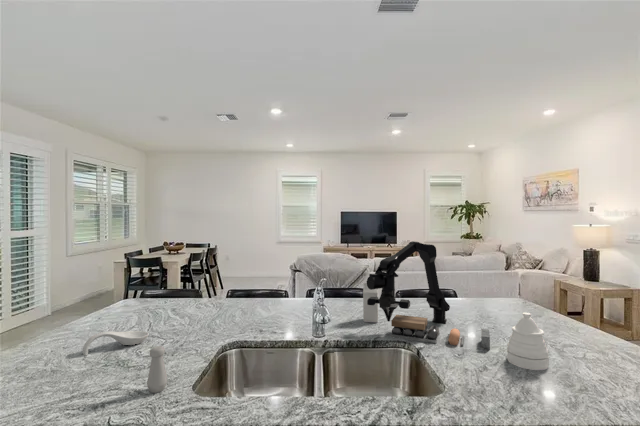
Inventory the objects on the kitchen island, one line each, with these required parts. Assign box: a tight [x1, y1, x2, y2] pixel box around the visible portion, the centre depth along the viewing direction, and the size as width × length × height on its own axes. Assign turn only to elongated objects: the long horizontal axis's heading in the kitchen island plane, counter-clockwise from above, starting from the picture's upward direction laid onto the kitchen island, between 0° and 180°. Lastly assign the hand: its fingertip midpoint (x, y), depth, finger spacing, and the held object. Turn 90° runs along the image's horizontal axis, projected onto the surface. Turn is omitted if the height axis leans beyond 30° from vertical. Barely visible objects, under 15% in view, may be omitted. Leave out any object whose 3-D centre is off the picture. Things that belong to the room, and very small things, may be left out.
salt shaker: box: [146, 345, 168, 394], centre depth 106 cm, size 6×6×13 cm
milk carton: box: [362, 282, 379, 324], centre depth 176 cm, size 7×7×19 cm
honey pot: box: [506, 312, 550, 371], centre depth 125 cm, size 13×13×18 cm
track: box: [390, 325, 465, 347], centre depth 151 cm, size 12×29×4 cm, turn 65°
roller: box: [448, 327, 461, 346], centre depth 146 cm, size 10×4×4 cm, turn 155°
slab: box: [390, 314, 428, 330], centre depth 154 cm, size 10×14×2 cm
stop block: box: [480, 328, 491, 351], centre depth 141 cm, size 10×3×5 cm, turn 155°
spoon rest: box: [82, 330, 149, 356], centre depth 142 cm, size 24×12×7 cm, turn 135°
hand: (388, 321), depth 158 cm, fingers closed
